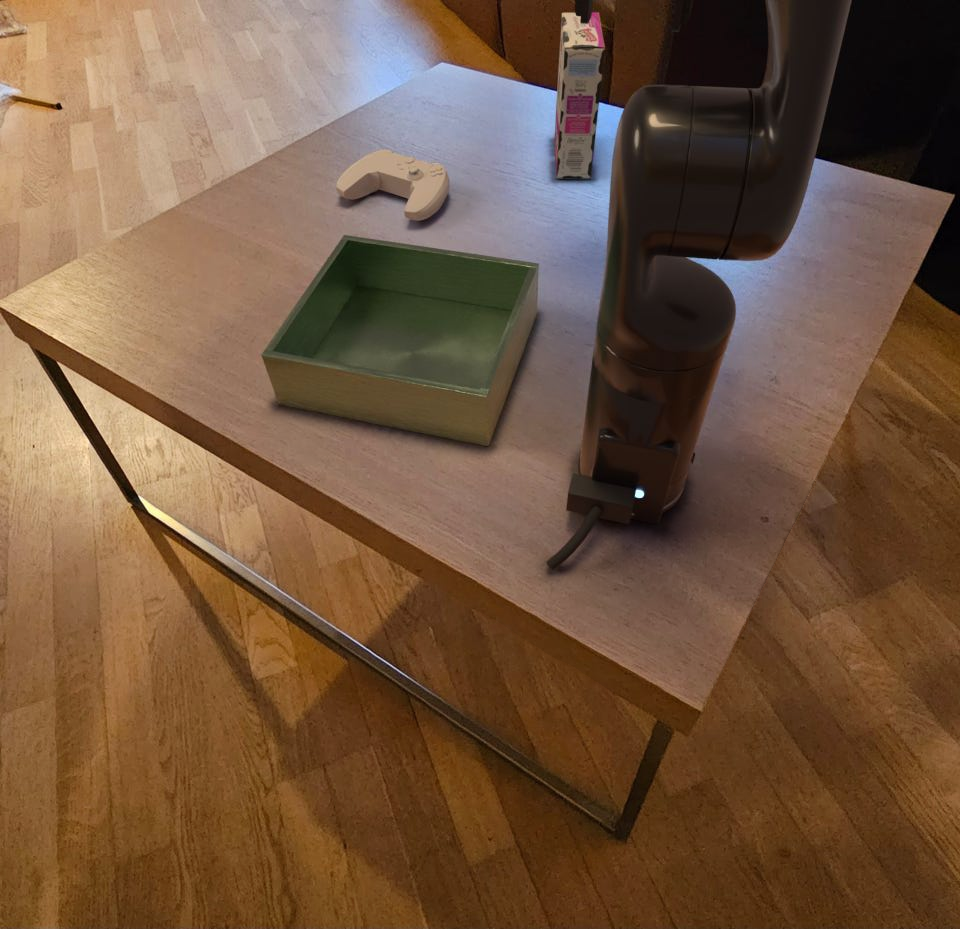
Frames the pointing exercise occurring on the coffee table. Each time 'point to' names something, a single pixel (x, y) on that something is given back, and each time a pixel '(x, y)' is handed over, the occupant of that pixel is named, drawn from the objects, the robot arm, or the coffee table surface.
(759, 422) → the coffee table surface
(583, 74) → the candy bar box
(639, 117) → the robot arm
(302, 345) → the shallow wooden crate
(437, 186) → the game controller
